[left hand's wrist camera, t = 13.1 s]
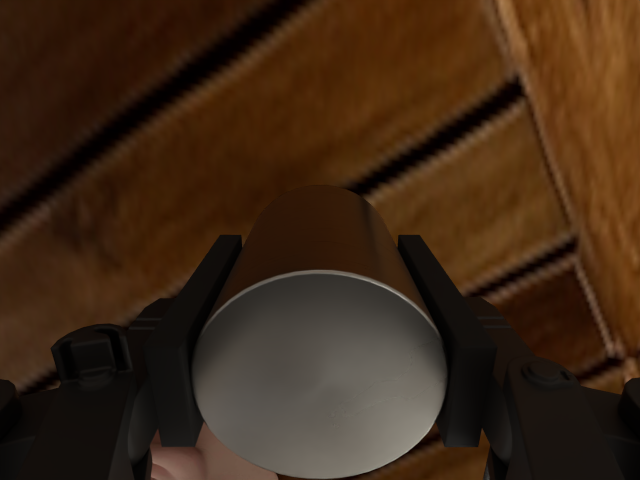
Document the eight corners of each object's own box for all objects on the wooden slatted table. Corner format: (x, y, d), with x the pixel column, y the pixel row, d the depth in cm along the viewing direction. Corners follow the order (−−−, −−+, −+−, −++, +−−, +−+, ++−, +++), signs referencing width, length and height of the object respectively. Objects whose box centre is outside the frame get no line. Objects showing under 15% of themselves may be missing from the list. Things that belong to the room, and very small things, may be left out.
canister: (300, 154, 14) (281, 214, 7) (420, 238, 15) (506, 362, 8) (222, 270, 16) (143, 412, 9) (335, 338, 17) (346, 511, 10)
